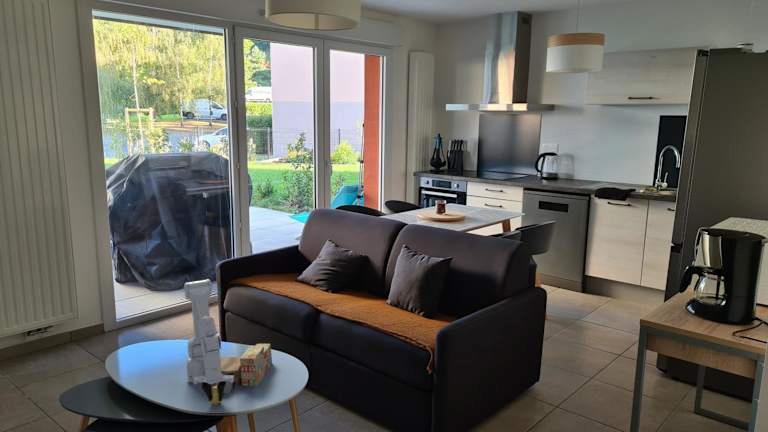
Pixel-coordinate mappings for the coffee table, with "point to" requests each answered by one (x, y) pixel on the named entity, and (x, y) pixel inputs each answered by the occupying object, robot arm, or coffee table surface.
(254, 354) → the stack of blocks
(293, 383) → the coffee table surface
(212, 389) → the cube joystick
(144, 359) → the coffee table surface
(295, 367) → the coffee table surface
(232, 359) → the open wooden box
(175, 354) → the coffee table surface
